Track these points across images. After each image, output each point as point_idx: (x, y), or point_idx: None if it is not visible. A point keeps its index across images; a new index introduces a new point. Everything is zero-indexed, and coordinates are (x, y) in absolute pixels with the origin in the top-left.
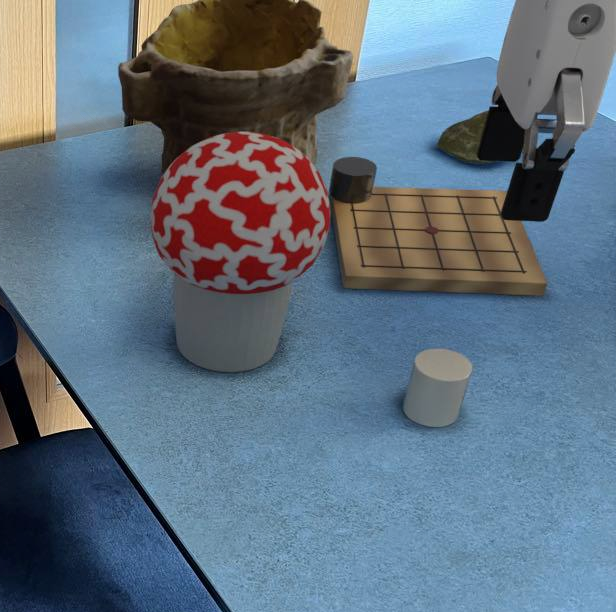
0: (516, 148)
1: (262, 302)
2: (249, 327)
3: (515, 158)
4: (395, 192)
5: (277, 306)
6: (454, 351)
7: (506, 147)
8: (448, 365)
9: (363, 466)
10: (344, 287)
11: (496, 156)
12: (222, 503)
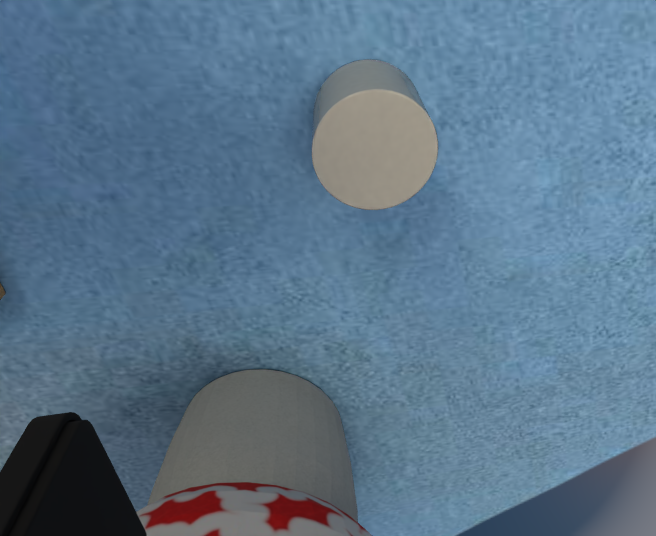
0: (71, 487)
1: (335, 496)
2: (344, 468)
3: (83, 434)
4: None
5: (306, 460)
6: (317, 131)
7: (92, 528)
8: (379, 143)
9: (548, 215)
10: (4, 292)
11: (119, 509)
12: (645, 379)
